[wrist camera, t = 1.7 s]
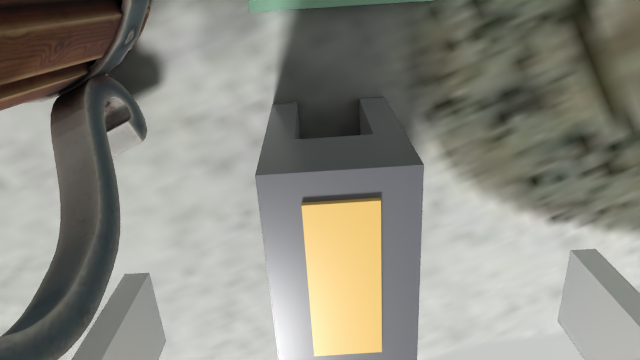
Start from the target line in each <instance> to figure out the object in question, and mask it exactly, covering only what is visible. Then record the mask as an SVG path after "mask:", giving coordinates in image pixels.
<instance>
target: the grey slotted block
mask: <svg viewBox="0 0 640 360" xmlns="http://www.w3.org/2000/svg"><path fill="white" fill-rule="evenodd" d="M359 110H360V135H355V136H340V137H324V138H309V139H300V131H299V119H298V106H297V102H296V103H281V104H273V105H272V109H271V113H270V117H269V122H268V126H267V130H266V134H265V138H264V142H263V146H262V150H261V154H260V158H259V162H258V166H257V170H256V174H255V178H256V186H257V194H258V202H259V210H260V217H261V225H262V233H263V241H264V249H265V257H266V265H267V273H268V281H269V289H270V297H271V305H272V313H273V321H274V329H275V337H276V345H277V352H278V360H417V343H418V315H419V286H420V258H421V229H422V201H423V172H424V164H423V163H422V161H421V159H420V158H419V156H418V154H417V152H416V151H415V149H414V147H413V146H412V144H411V142H410V141H409V139H408V137H407V136H406V134H405V132H404V131H403V129H402V127H401V125H400V124H399V122H398V120H397V119H396V117H395V115H394V114H393V112H392V110H391V109H390V107H389V105H388V104H387V102H386V100H385V98H384V97H374V98H359Z"/></svg>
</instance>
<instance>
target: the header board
mask: <svg viewBox="0 0 640 360" xmlns="http://www.w3.org/2000/svg"><path fill="white" fill-rule="evenodd" d="M417 1H432V0H248V3H249V12H261V11H276V10H292V9H308V8H323V7H339V6H354V5H370V4H386V3H401V2H417Z"/></svg>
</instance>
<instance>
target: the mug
mask: <svg viewBox="0 0 640 360" xmlns="http://www.w3.org/2000/svg"><path fill="white" fill-rule="evenodd" d="M149 12H150V8H149V0H0V111H1V110H4V109H7V108H10V107H13V106H16V105H19V104H22V103H31V102H43V101H46V100H48V99H51V98H54V97H57V96H59V97H58V98H57V99H56V101H55V102H54V104H53V108H52V112H51V135H52V143H53V150H54V156H55V162H56V168H57V174H58V182H59V190H60V203H61V222H60V233H59V239H58V244H57V248H56V252H55V255H54V257H53V260H52V262H51V265H50V267H49V269H48V271H47V273H46V275H45V277H44V279H43V281H42V283H41V285H40V287H39V289H38V291H37V292H36V294H35V296H34V298H33V299H32V301H31V303H30V304H29V306H28V307H27V309H26V310H25V312H24V313H23V315H22V316H21V317H20V318H19V320H18V321H17V322H16V323H15V324H14V325H13V326H12V327H11V328H10V329H9V330H8V331H7V332H6V333H5V334H3V335H2V336H1V337H0V360H57V359H59V358H60V357H61V356H62V355H64V354H65V353H66V352H67V351H68V350H69V349H70V348H71V347H72V346H73V345H74V343H75V342H76V341H77V340H78V339H79V338H80V337H81V335H82V334H83V332H84V331H85V330H86V328H87V327H88V325H89V324H90V322H91V321H92V319H93V317H94V315H95V313H96V311H97V309H98V307H99V305H100V302H101V300H102V297H103V295H104V292H105V290H106V287H107V284H108V282H109V279H110V276H111V273H112V270H113V267H114V263H115V259H116V255H117V252H118V245H119V237H120V205H119V194H118V187H117V180H116V175H115V169H114V164H113V159H112V157H114V156H116V155H118V154H120V153H122V152H124V151H126V150H127V149H129V148H131V147H133V146H135V145H137V144H139V143H141V142H143V140H144V139H145V138H146V133H147V127H146V123H145V119H144V116H143V114H142V112H141V110H140V108H139V106H138V104H137V103H136V102H135V100H134V99H133V97H132V96H131V95H130V93H129V92H128V91H127V90H126V89H125V88H124V87H123V86H122V85H121V84H120V83H119V82H117V81H116V80H114V79H113V78H111V77H109V76H106V75H105V74H107V73H108V72H109V71H110V70H112V69H113V68H114V67H116V66H117V65H118V64H119V63H120V62H121V61H122V60H123V58H124V57H125V55H126V54H127V52H128V51H129V50H131V49H132V47H133V46H134V44H135V43H136V41H137V39H138V38H139V36H140V35H141V33H142V31H143V29H144V26H145V23H146V20H147V18H148V15H149Z"/></svg>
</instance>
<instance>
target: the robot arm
mask: <svg viewBox="0 0 640 360" xmlns="http://www.w3.org/2000/svg"><path fill="white" fill-rule="evenodd" d="M558 322H559V324H560V325H561V327H562V328H563V329H564V331H565V332H566V334H567V335H568V337H569V338H570V340H571V341H572V342H573V344H574V345H575V347H576V348H577V350H578V351H579V353H580V354H581V356H582V357H583V358H584V360H640V293H639V292H638V291H637V290H636V289H635V288H634V287H633V286H632V285H631V284H630V283H629V282H628V281H627V280H626V279H625V278H624V277H623V276H622V275H621V274H620V273H619V272H618V271H617V270H616V269H615V268H614V267H613V266H612V265H611V264H610V263H609V262H608V261H607V260H606V259H605V258H604V257H603V256H602V255H601V254H600V253H599V252H598V251H597V250H596V249H587V250H571V251H570V257H569V262H568V267H567V273H566V278H565V283H564V289H563V294H562V299H561V305H560V310H559V315H558ZM165 342H166V338H165V334H164V330H163V326H162V322H161V318H160V314H159V310H158V306H157V302H156V298H155V294H154V290H153V286H152V282H151V278H150V274H149V273H138V274H125V275H124V277H123V278H122V280H121V281H120V283H119V285H118V286H117V288H116V289H115V291H114V293H113V294H112V296H111V297H110V299H109V301H108V302H107V304H106V305H105V307H104V309H103V310H102V312H101V313H100V315H99V317H98V318H97V320H96V321H95V323H94V325H93V326H92V328H91V329H90V331H89V333H88V334H87V336H86V337H85V339H84V341H83V342H82V344H81V345H80V347H79V349H78V350H77V352H76V353H75V355H74V357H73V358H72V360H158V359H159V357H160V354H161V352H162V349H163V347H164V345H165Z"/></svg>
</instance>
